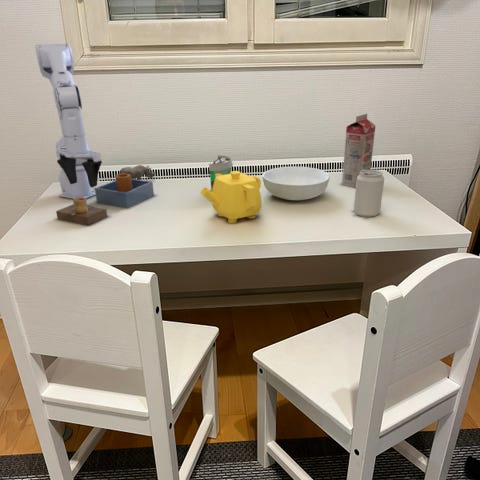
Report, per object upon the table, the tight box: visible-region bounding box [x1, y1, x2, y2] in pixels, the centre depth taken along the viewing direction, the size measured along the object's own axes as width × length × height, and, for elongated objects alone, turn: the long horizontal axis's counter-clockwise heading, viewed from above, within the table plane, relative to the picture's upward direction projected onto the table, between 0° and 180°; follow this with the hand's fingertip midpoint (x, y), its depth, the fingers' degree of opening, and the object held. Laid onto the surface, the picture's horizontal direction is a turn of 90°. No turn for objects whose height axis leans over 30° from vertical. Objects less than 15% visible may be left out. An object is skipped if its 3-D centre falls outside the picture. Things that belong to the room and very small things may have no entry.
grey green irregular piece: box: [208, 154, 234, 192], centre depth 166 cm, size 12×6×10 cm, turn 168°
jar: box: [114, 173, 132, 192], centre depth 160 cm, size 5×5×7 cm
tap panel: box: [55, 203, 108, 226], centre depth 147 cm, size 12×9×3 cm
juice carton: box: [341, 113, 376, 188], centre depth 166 cm, size 7×7×22 cm
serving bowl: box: [262, 165, 331, 202], centre depth 159 cm, size 21×21×7 cm
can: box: [353, 169, 385, 218], centre depth 143 cm, size 8×8×12 cm
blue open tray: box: [94, 178, 155, 209], centre depth 161 cm, size 12×13×5 cm
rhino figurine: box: [118, 164, 157, 180], centre depth 177 cm, size 4×14×6 cm, turn 119°
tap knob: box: [72, 197, 88, 213], centre depth 145 cm, size 4×4×4 cm
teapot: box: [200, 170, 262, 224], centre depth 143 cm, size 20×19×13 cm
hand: (83, 184), depth 144 cm, fingers open, 7 cm apart
